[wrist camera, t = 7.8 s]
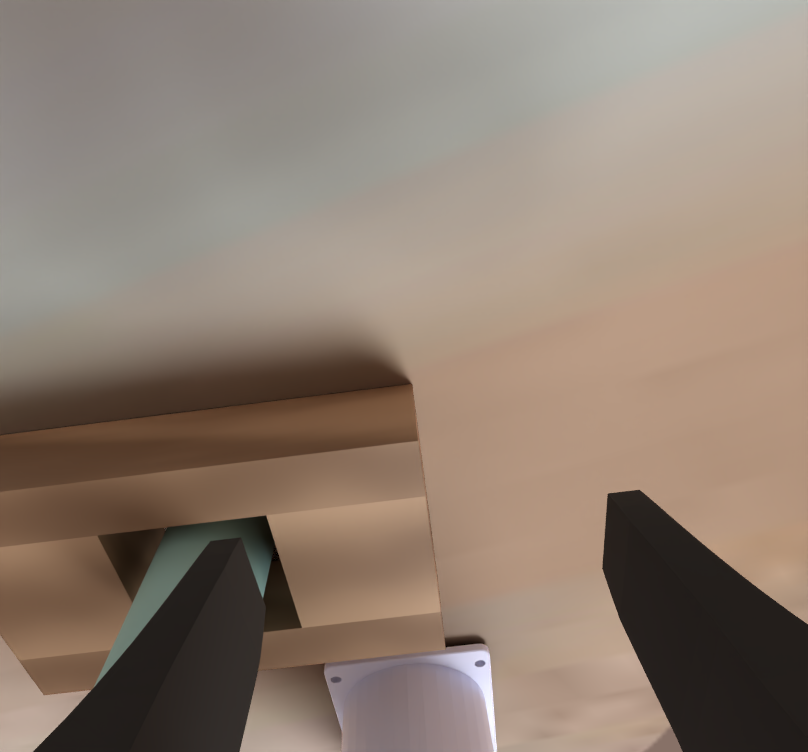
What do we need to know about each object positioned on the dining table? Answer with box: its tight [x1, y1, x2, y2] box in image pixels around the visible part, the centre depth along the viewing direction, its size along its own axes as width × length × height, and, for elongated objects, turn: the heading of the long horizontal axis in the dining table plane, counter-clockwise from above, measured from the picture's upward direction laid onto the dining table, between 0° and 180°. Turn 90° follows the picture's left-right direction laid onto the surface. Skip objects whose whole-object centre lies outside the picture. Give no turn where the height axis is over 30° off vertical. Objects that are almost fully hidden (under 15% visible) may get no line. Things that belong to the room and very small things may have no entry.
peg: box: [94, 515, 275, 687], centre depth 19 cm, size 4×4×8 cm
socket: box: [0, 384, 446, 695], centre depth 21 cm, size 10×16×4 cm, turn 97°
